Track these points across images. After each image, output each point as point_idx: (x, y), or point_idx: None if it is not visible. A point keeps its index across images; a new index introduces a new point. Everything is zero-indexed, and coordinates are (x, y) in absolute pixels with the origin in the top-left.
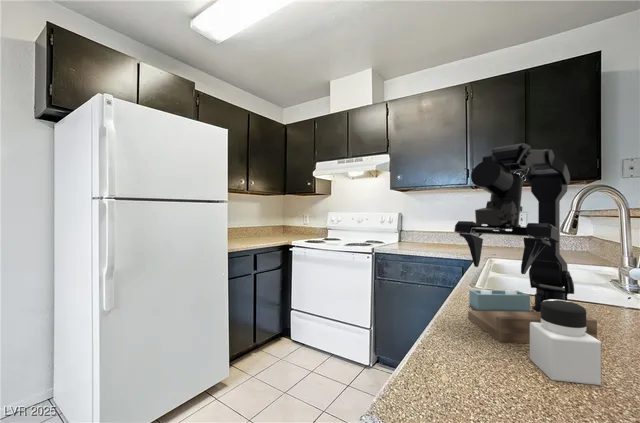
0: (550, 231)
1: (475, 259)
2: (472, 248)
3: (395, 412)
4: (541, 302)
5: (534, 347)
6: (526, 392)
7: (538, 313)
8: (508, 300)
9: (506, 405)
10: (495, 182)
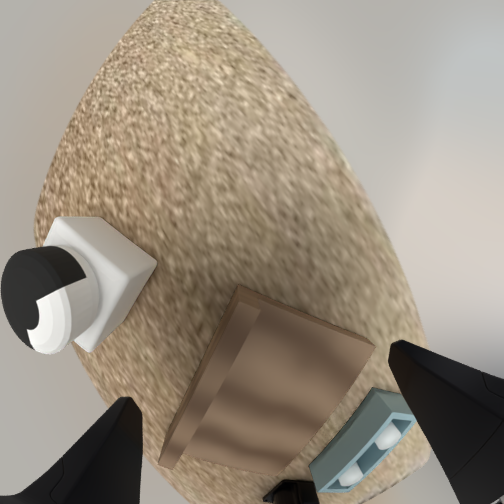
0: None
1: (419, 360)
2: (487, 390)
3: None
4: (62, 287)
5: (129, 252)
6: (102, 141)
7: (279, 462)
8: (342, 456)
9: (104, 89)
10: None
